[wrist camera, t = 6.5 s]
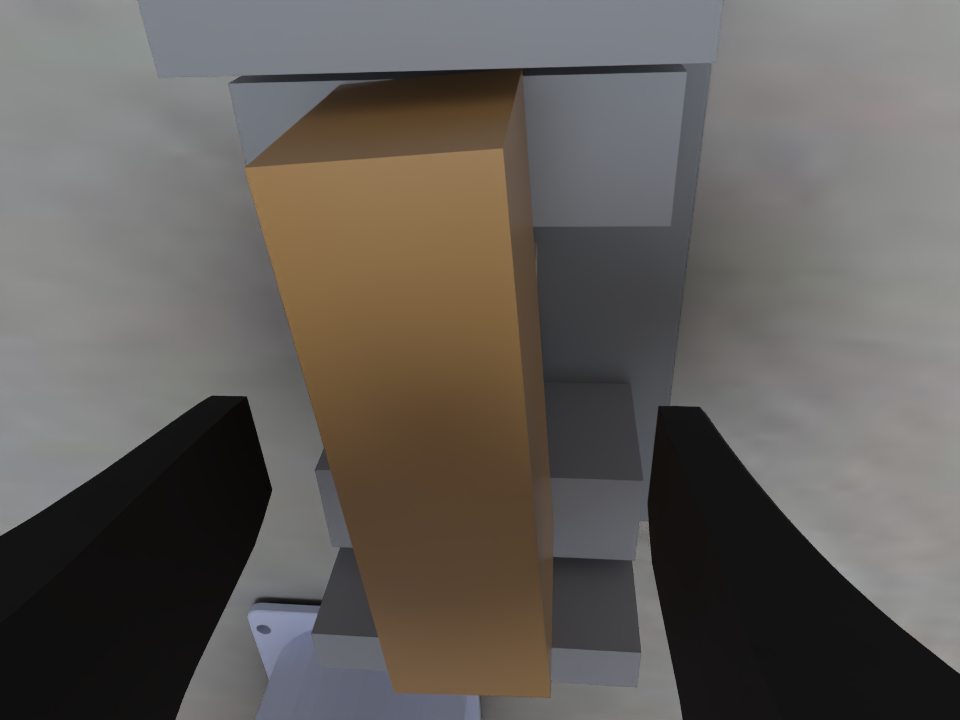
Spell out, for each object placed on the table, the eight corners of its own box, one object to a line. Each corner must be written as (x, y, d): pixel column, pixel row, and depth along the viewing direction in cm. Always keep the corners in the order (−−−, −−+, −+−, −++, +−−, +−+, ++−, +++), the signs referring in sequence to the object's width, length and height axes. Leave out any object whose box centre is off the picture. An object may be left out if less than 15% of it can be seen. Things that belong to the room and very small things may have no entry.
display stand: (651, 496, 21) (681, 706, 16) (352, 485, 22) (282, 680, 17) (722, -119, 13) (838, -125, 7) (241, -93, 14) (33, -83, 8)
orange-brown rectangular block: (325, 85, 11) (221, 169, 8) (522, 67, 11) (502, 148, 7) (418, 527, 16) (380, 692, 13) (553, 527, 16) (550, 697, 12)
